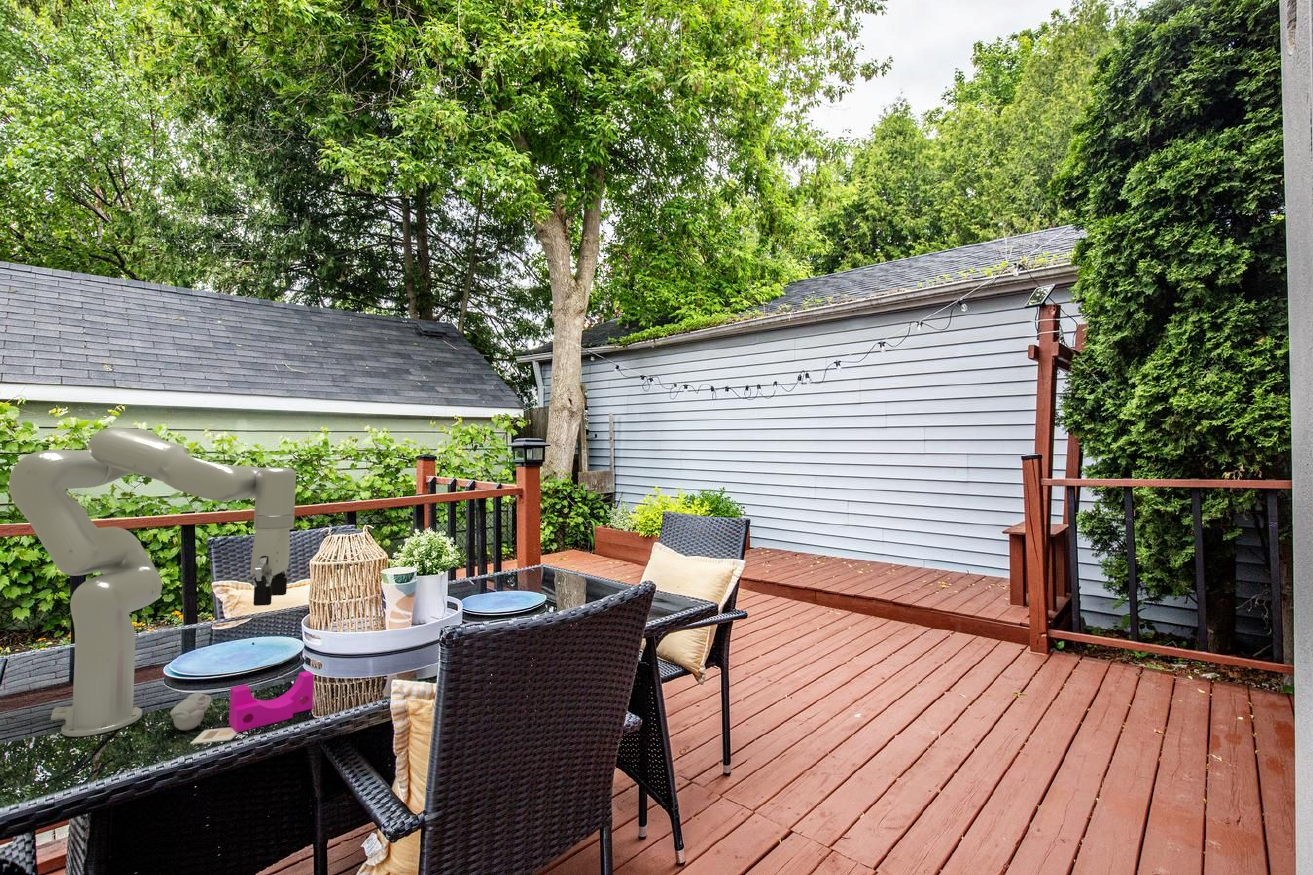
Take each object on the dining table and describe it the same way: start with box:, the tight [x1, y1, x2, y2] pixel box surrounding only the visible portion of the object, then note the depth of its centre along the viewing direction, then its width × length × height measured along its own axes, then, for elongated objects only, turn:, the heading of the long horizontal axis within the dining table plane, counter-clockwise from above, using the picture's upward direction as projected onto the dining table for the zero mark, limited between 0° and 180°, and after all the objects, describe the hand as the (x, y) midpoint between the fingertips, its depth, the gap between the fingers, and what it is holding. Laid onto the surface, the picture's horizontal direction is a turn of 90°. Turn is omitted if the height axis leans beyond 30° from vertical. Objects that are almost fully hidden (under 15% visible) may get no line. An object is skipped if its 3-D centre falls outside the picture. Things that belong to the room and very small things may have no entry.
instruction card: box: [189, 726, 239, 745], centre depth 122 cm, size 7×6×1 cm
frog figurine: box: [169, 692, 212, 731], centre depth 125 cm, size 6×7×7 cm
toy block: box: [228, 670, 315, 734], centre depth 130 cm, size 15×6×8 cm, turn 137°
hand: (270, 599), depth 133 cm, fingers open, 9 cm apart
